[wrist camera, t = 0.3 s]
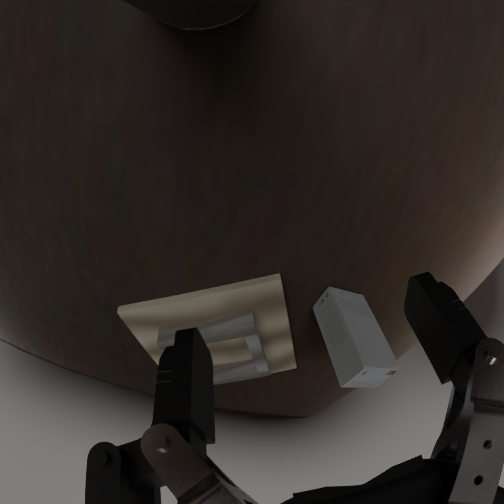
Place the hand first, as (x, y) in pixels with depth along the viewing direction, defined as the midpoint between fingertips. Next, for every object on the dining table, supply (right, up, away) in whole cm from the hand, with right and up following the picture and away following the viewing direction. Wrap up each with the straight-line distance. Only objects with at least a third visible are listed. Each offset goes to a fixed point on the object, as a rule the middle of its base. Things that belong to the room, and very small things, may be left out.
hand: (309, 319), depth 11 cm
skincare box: (+9, -4, +27) cm, 29 cm away
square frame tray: (-7, -10, +29) cm, 32 cm away
